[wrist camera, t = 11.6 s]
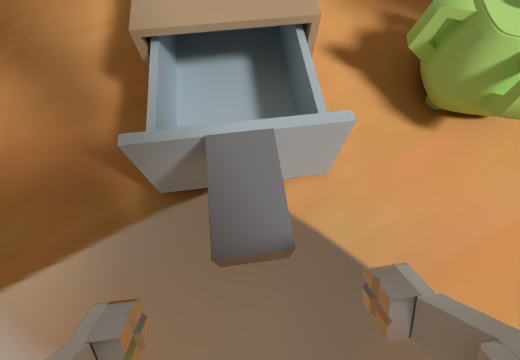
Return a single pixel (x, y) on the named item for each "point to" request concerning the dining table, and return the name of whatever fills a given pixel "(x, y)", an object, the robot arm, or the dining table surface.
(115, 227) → the dining table surface
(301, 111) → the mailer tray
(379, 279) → the robot arm
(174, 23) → the sleeve
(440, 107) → the teapot
